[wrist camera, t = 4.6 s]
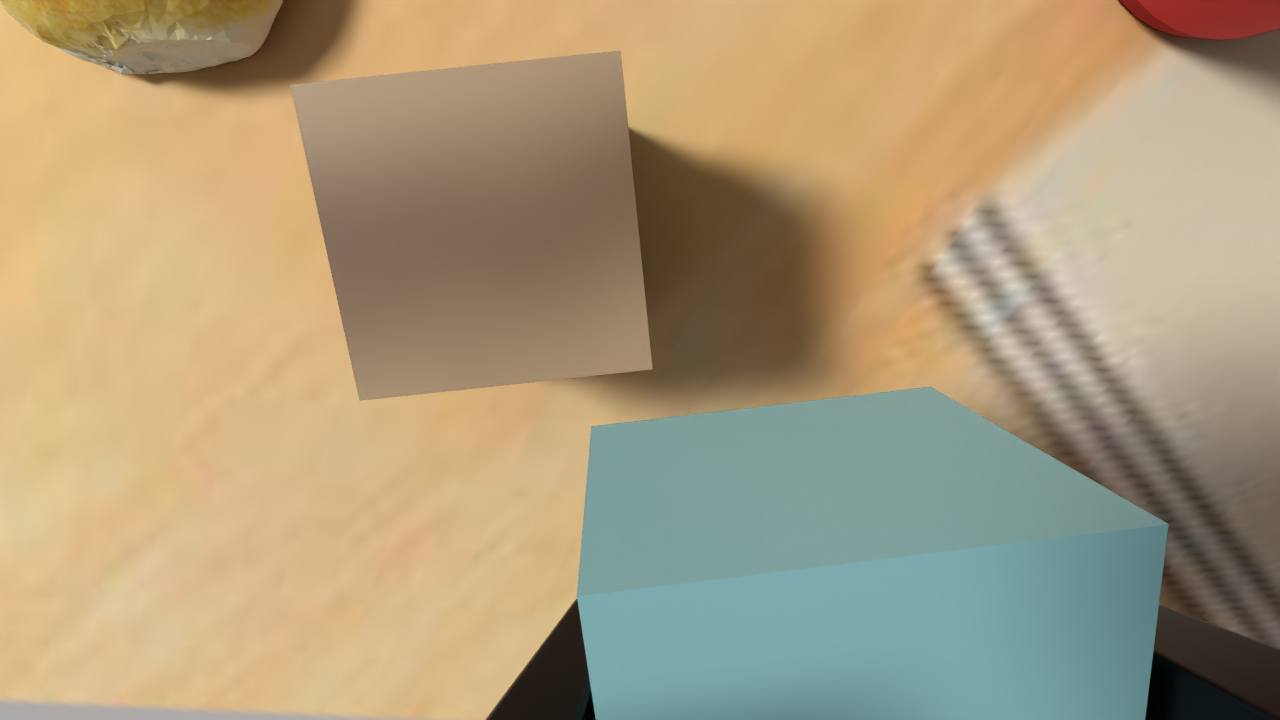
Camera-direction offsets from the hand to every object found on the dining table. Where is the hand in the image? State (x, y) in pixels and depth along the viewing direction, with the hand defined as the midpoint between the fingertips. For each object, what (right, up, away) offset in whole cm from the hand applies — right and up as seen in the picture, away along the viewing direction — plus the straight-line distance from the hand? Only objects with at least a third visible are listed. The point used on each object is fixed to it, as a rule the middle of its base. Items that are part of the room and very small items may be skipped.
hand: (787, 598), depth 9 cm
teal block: (0, 0, +1) cm, 1 cm away
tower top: (-5, +7, +7) cm, 11 cm away
